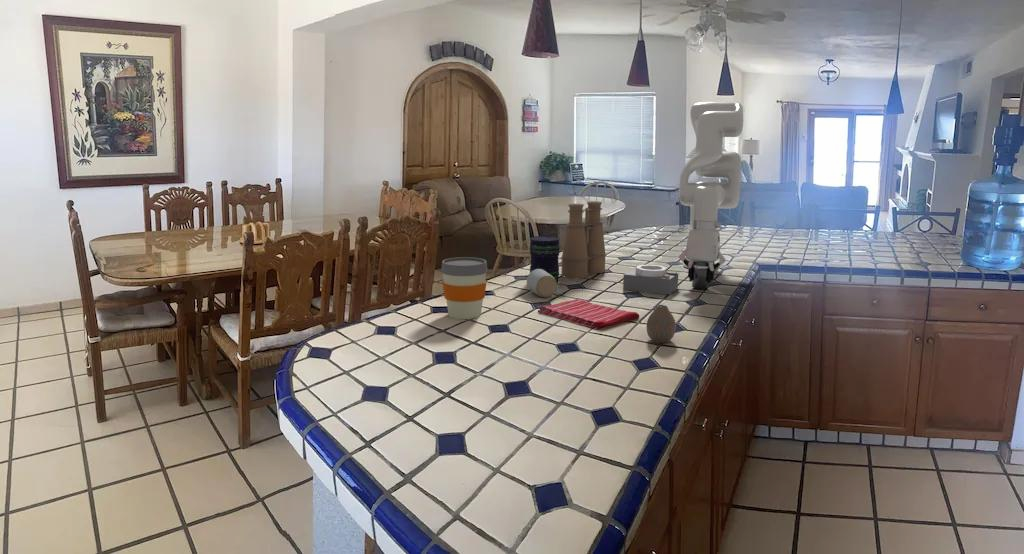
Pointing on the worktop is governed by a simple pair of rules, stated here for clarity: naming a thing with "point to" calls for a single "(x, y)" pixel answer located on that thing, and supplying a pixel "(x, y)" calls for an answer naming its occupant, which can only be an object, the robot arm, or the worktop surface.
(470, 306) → the reusable coffee cup
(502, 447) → the worktop surface
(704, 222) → the robot arm
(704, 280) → the lens
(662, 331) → the vase
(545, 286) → the ceramic mug
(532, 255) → the storage jar
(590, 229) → the binoculars
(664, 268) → the camera body
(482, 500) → the worktop surface
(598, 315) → the dish towel
